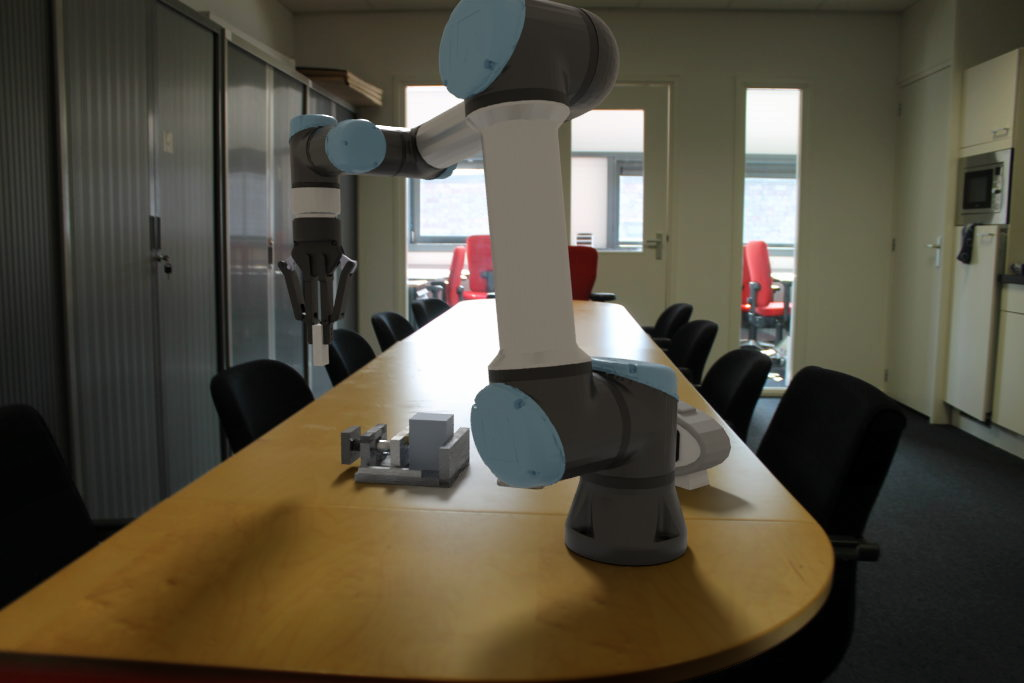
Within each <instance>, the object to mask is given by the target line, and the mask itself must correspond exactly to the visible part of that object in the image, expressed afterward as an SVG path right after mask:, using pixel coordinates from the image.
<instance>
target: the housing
mask: <svg viewBox="0 0 1024 683" xmlns="http://www.w3.org/2000/svg"><path fill="white" fill-rule="evenodd" d="M408 426H409V436H408V439H407V443H408V445H409V469H423V470H438V471H439V448H440V447H441V446H442V445H443V444H444V443H445V442H446V441H447V440H448V439H449V438H450V437H451V436H452V435H453V434H454V433H455V416H454V413H438V412H434V413H433V412H417V413H414V415H413V416H411V417H410V418H409V419H408Z"/></svg>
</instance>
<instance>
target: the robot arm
mask: <svg viewBox="0 0 1024 683" xmlns="http://www.w3.org/2000/svg"><path fill="white" fill-rule="evenodd" d="M438 50H439V51H438V70H439V77H440V80H441V83H442V85H443V86H444V87H446V90H447V91H448V93H449V94H451V95H453V97H455V98H457V99H461V100H463V101H461V102H460V103H457V104H456V105H454V106H452V107H451V108H449V109H447V110H445V111H443V112H442V113H440V114H438V115H436V116H435V117H432V118H431V119H429V120H427V121H425V122H423V123H421V124H419V125H417V126H416V127H413V128H408V127H400V126H399V127H397V126H387V125H378V124H375V123H373V122H372V121H370V120H368V119H363V118H357V119H352V118H349V119H345V120H342V121H340V122H338V120H337V118H335V117H334V116H330V115H327V114H318V113H315V114H314V113H313V114H312V113H311V114H309V113H308V114H298V115H295V116H293V117H292V118H291V119H290V121H289V137H288V146H289V160H290V161H289V162H290V166H289V168H290V184H291V213H292V214H293V215H295V217H294V218H293V220H292V240H293V246H292V249H291V252H290V255H289V256H288V257H287V258H286V259H284V260H280V261H278V262H277V267H278V269H279V270H280V272H281V273H282V275H283V278H284V281H285V285H286V288H287V293H288V296H289V300H290V303H291V308H292V311H293V316H294V318H295V320H297V321H300V322H303V323H305V325H306V334H307V338H306V339H307V343H308V345H312V353H313V354H312V355H313V356H312V359H313V367H324V366H326V365H329V364H330V359H329V358H330V356H329V354H330V353H329V345H332V344H333V342H334V324H335V323H336V322H339V321H341V320H343V319H345V316H346V312H347V311H346V310H347V306H348V301H349V296H350V291H351V286H352V282H353V278H354V277H353V276H354V274H355V272H356V271H357V269H358V268H359V266H360V264H359V262H358V261H357V260H353V259H351V258H349V257H348V256H347V255H345V252H346V251H345V250H344V248H343V246H342V241H343V240H342V220H340V218H338V215H340V214H342V213H341V210H342V209H341V176H348V175H350V176H353V175H354V176H371V177H391V178H407V179H418V180H425V181H432V180H446V179H447V178H449V177H451V176H452V174H453V173H454V171H455V170H456V169H457V167H458V165H459V164H458V163H460V162H462V161H464V160H467V159H469V158H471V157H473V156H475V155H477V154H479V153H482V154H481V155H482V164H483V176H484V185H485V186H484V188H485V197H486V198H485V199H486V208H487V209H486V210H487V220H488V230H489V242H490V254H491V263H492V264H491V266H492V276H493V288H494V298H495V299H494V300H495V310H496V322H497V323H496V324H497V331H498V332H497V333H498V334H497V335H498V344H499V346H498V347H499V350H498V353H497V354H496V356H494V359H492V361H491V362H490V363H489V364H488V365H487V374H488V384H487V385H486V386H484V387H483V388H482V389H480V391H478V393H477V394H476V396H475V397H474V403H473V404H472V406H471V408H470V431H471V435H472V438H473V443H474V445H475V449H476V451H477V453H478V455H479V456H480V459H481V461H482V462H483V464H484V465H485V466H486V467H487V468H488V469H489V470H490V472H491V473H492V474H493V475H494V476H495V477H496V478H498V479H500V480H501V481H502V482H504V483H506V484H508V485H510V486H509V487H512V488H518V489H527V488H528V489H530V488H529V487H535V486H540V485H542V486H543V487H549V486H552V485H555V484H557V483H558V482H562V481H565V480H569V479H572V478H573V479H574V478H577V477H579V482H578V484H577V487H576V489H575V493H574V495H573V499H572V501H571V505H570V507H569V510H568V513H567V515H566V518H565V522H564V543H565V545H566V546H567V548H568V549H570V550H571V552H574V553H575V554H577V555H579V556H582V557H583V558H586V559H590V560H593V561H595V562H600V563H606V564H613V565H623V566H649V565H657V564H662V563H663V564H664V563H666V562H670V561H673V560H675V559H678V558H680V557H681V556H682V555H684V554H685V552H686V551H687V549H688V527H687V523H686V520H685V517H684V513H683V510H682V507H681V506H682V505H681V502H680V499H679V496H678V491H677V489H676V486H675V459H676V436H677V412H678V402H679V400H680V396H679V390H678V389H679V386H678V376H677V373H676V371H675V370H674V369H673V368H672V367H670V366H668V365H666V364H662V363H656V362H650V361H649V362H648V361H643V360H635V359H628V358H621V357H619V358H617V357H607V356H591V355H589V354H587V352H585V351H584V350H583V349H582V348H581V347H580V346H579V345H578V344H577V336H576V325H575V313H574V301H573V300H574V299H573V291H572V290H573V288H572V280H571V279H572V277H571V269H570V268H571V267H570V257H569V256H570V255H569V244H568V233H567V223H566V222H567V220H566V211H565V209H566V208H565V199H564V198H565V197H564V187H563V186H564V185H563V176H562V175H563V173H562V165H561V153H560V142H559V128H560V127H561V126H562V124H565V123H567V122H570V121H572V120H574V119H576V118H579V117H581V116H583V115H585V114H587V113H589V112H591V111H592V110H594V109H596V108H597V107H598V106H599V105H601V104H602V103H603V102H604V101H605V100H606V99H607V97H608V96H609V95H610V93H611V92H612V90H613V88H614V86H615V85H616V82H617V80H618V79H617V78H618V76H619V73H620V72H619V71H620V62H621V61H620V51H619V46H618V43H617V40H616V38H615V36H614V34H613V32H612V30H611V29H610V27H609V26H608V25H607V24H606V22H605V21H604V20H603V19H602V18H601V17H599V16H598V15H597V14H596V13H593V12H591V11H589V10H587V9H585V8H582V7H578V6H575V5H574V6H573V5H567V4H565V3H561V2H557V1H552V0H460V1H459V2H458V3H457V5H456V6H455V7H454V8H453V11H452V12H451V14H450V16H449V19H448V20H447V22H446V24H445V26H444V28H443V33H442V36H441V38H440V44H439V49H438ZM339 266H340V269H341V271H340V275H339V278H338V279H339V280H338V283H337V288H336V294H335V298H334V281H335V272H336V270H337V269H338V267H339ZM297 267H298V268H299V270H300V271H301V272H302V280H303V283H304V284H303V285H304V295H303V291H302V290H303V289H302V287H301V283H300V279H299V275H298V272H297ZM318 284H319V286H318ZM318 287H319V288H318ZM319 292H320V293H319ZM319 296H320V297H319ZM319 298H320V300H319ZM319 301H320V312H319ZM319 313H320V314H319ZM319 315H320V317H319ZM319 318H320V319H319Z"/></svg>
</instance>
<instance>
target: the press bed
mask: <svg viewBox="0 0 1024 683" xmlns="http://www.w3.org/2000/svg"><path fill="white" fill-rule="evenodd" d="M387 425H388V424H387V423H377V424H375V425H374V426H372V427H370V429H368V430H366V431H365V432H363V433H361V436H360V455H361V457H360V465H359V466H358V468H357V470H358V471H357V472H355V473H354V482H355V483H369V484H370V483H371V484H385V485H386V484H389V485H403V486H405V485H407V486H419V487H420V486H421V487H437V488H451V486H452V485H453V483H455V481H456V480H457V479H458V478H459V476H460V475H461V474H462V472H463V471H464V470H465V469H466V468H467V467H468V465H469V464H470V458H471V457H470V455H471V453H470V450H471V449H470V447H471V446H470V445H471V444H470V443H471V442H470V441H471V440H470V438H471V437H470V435H471V433H470V431H471V427H464V426H463V427H462V426H461V427H459V428H458V429H457V430H456V431H454V434H453V435H452V436H451V437H450V438H449V439H448V440H447V441H446V442H445V443H444V444H443V445H442V446H441V447H440V448H439V471H438V470H423V469H409V464H408V465H406V466H405V467H404V468H392V467H390V453H378V452H376V448H375V440H387V441H388V426H387Z"/></svg>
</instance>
